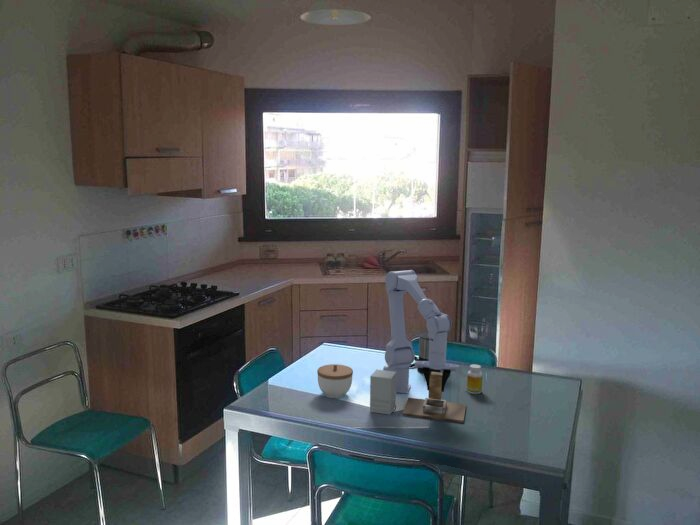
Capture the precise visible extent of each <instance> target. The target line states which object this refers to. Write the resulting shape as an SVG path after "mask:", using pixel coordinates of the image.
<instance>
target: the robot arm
mask: <svg viewBox="0 0 700 525" xmlns="http://www.w3.org/2000/svg"><path fill="white" fill-rule="evenodd" d="M384 279H385V281H384V282H385V291H386V294H387V297H388V308H389V309H388V310H389V321H390V335H391V340H390V341H389V342H388V343H387V344H386V345H385V352H384V361H385V363H386V364H384V365H383V368H382V370H385V371H393V372H396V393H397V394H398V393H399V394H409V391H410V389H411V387H412V385H411V384H409V381H410V380H409V378H410V367H409V366H411V364H414V363H415V366H414V369H417V368H423V369H422V373H421V374H422V376H423V377H424V380H425V384H426V390H427V391H429V381H430V373H431V369H436V370H440V371H442V372H441V373H442V389H441V392H442V393H444V391H445V386H446V383H447V381H448V379H449V377H450V376H451V372H455V373H459V372H460V365H459V364H454V363H450V362H447V344H448V342H447V341H448V332H450V331H451V328H452V319H451V318H450V316H449V315H448V314H446V313H443V312H442V311H440V309H439V308H438V306H437V305H436V304H435V302H434V301H433V300H432V299H431V298H427V297H426V294H425V293H424V291H423V289H422V288H421V286H420V284H419V282H418V281H419V278H418V275H417V274H416V272H415V271H414V270H413V269H409V270H397V271H396V270H395V271H394V270H393V271H392V270H390V271H388V273H387V274H386V276H385V278H384ZM406 293H408V294H409V296H411V297H412V298H413V299H414V301H415V302H416V304H418V305H417V310H418V312H419V313H420V315H421V316H422V317H423V319H424V320H425V322H426V324H425V325H426V330H427V332H428V337H429V359H428V361H415V360H414V358H415V356H416V355H415V351H414V348H413V343H412V342H411V341H409V340H408V339H407V333H406V321H405V319H406V318H405V311H404V310H405V309H404V298H403V297H404V295H405V294H406Z"/></svg>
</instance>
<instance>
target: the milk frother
mask: <svg viewBox="0 0 700 525" xmlns="http://www.w3.org/2000/svg"><path fill="white" fill-rule="evenodd" d="M418 337H419V339H418V344H419V345H418V357H417V356H416V355H415V358H414V362H413V363H411V366H409V368H415V361H428V359H429V337H428V331H426V332H420V333H418ZM416 369H417V372H419V373H421V374H423V373H422V369H423V368H416ZM431 372H440V373H441V370H436V369H431Z"/></svg>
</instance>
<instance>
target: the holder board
mask: <svg viewBox="0 0 700 525" xmlns="http://www.w3.org/2000/svg"><path fill="white" fill-rule="evenodd" d="M466 408H467V404H466V403H458V402H450V401H448V400H447V399H441V400H437V399H429V397H425V399H424V398H415V397H408V398H407V400H406V402H405V405H404V406H403V410H402V412H401V416H402V417H403V416H404V417H414V418H419V419H420V418H421V419H427V420H428V419H429V420H435V421H436V420H438V421H446V422H454V423H461V424H462V423H463V424H464V423H465V422H464V421H465V414H466Z"/></svg>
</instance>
